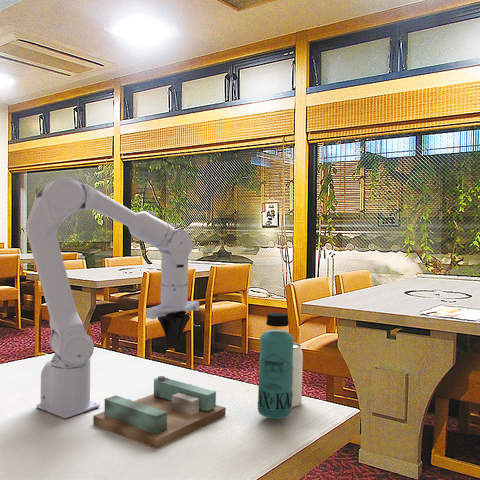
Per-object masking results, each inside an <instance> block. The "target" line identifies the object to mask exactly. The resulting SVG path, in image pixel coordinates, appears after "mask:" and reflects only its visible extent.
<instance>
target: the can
mask: <svg viewBox="0 0 480 480" xmlns="http://www.w3.org/2000/svg"><path fill="white" fill-rule="evenodd" d="M301 346H302V345H301V344H300V343H298V342H294V341H293V368H294V369H293V377H292V379H293V380H292V382H293V383H292V394H293V399H292V404H291V405H292V406H291V409H294V408H297V407H299V406H300V405H301V404H302V401H303V400H302V398H303V397H302V395H303V369H304V368H303V363H304V359H303V357H304V356H303V355H304V354H303V350H302V348H301Z"/></svg>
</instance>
